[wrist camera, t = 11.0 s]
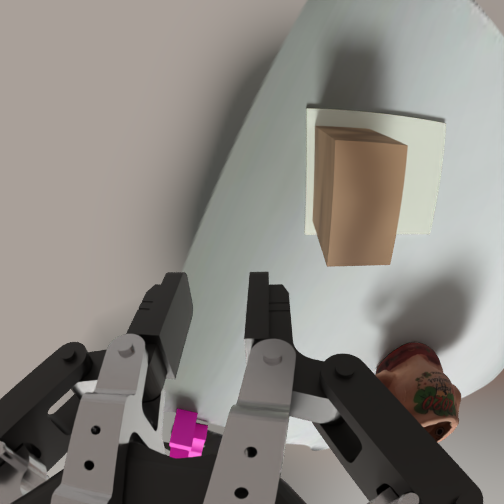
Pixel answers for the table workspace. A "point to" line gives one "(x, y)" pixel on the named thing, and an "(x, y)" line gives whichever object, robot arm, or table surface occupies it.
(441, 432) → the decorative planter
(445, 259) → the table surface
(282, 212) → the table surface
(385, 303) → the table surface
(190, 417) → the toy block
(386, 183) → the walnut block
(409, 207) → the mat
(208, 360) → the table surface
